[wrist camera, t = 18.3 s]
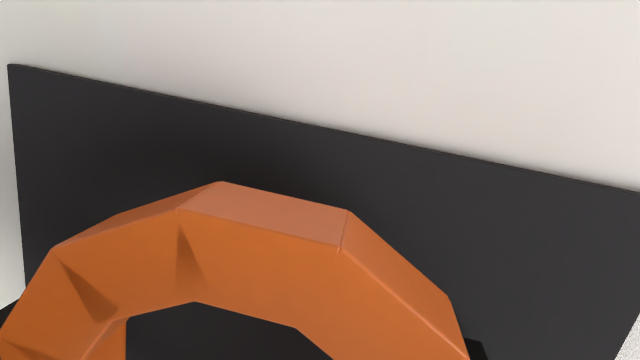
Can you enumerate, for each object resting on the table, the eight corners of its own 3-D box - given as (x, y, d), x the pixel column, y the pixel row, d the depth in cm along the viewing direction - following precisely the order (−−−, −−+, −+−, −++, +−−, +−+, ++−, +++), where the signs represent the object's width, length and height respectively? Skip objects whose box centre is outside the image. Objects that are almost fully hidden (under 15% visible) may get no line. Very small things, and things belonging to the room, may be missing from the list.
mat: (41, 375, 15) (33, 383, 15) (18, 64, 11) (6, 63, 11) (516, 519, 13) (520, 533, 13) (685, 202, 9) (698, 207, 9)
